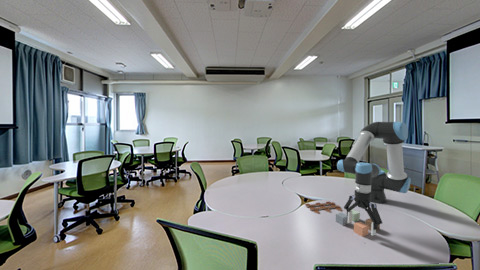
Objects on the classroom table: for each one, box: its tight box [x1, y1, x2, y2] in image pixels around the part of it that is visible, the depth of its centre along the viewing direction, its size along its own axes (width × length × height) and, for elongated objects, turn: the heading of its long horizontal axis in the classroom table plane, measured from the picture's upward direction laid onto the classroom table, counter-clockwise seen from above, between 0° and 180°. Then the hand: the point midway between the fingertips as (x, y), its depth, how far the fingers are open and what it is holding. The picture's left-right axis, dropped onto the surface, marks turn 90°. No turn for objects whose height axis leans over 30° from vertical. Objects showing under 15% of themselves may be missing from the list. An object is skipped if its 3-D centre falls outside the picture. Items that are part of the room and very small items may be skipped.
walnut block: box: [364, 217, 381, 232], centre depth 113 cm, size 5×5×5 cm
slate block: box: [335, 212, 350, 227], centre depth 120 cm, size 5×5×5 cm
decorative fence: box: [304, 201, 343, 215], centre depth 141 cm, size 23×2×15 cm
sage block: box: [351, 209, 361, 223], centre depth 124 cm, size 5×5×5 cm
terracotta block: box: [353, 221, 369, 238], centre depth 109 cm, size 5×5×5 cm
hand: (360, 228), depth 109 cm, fingers open, 13 cm apart
